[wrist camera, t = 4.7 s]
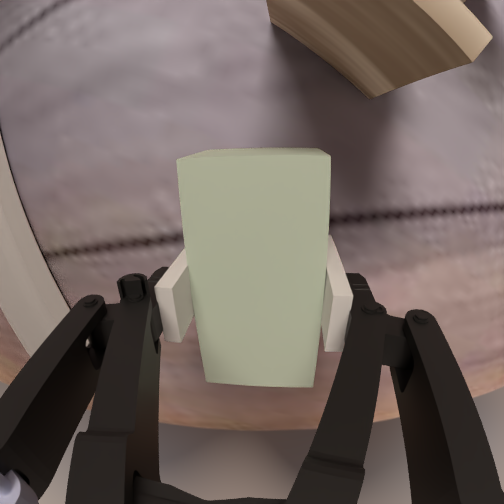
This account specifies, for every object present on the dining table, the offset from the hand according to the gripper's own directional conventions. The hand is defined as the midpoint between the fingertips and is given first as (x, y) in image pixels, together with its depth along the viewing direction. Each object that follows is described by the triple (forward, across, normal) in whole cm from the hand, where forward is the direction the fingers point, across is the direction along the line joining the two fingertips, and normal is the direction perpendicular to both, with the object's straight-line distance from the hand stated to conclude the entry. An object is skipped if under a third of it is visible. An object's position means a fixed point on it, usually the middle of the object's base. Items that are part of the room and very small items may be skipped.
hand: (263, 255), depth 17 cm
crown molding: (+4, -27, -1) cm, 28 cm away
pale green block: (+1, 0, 0) cm, 1 cm away
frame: (+3, +9, +18) cm, 21 cm away
